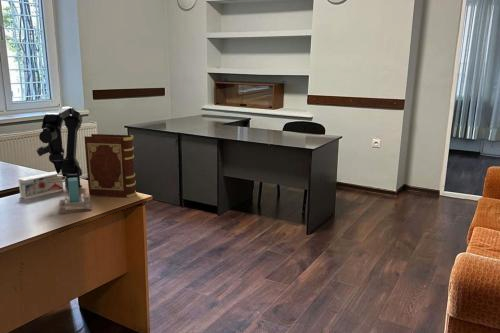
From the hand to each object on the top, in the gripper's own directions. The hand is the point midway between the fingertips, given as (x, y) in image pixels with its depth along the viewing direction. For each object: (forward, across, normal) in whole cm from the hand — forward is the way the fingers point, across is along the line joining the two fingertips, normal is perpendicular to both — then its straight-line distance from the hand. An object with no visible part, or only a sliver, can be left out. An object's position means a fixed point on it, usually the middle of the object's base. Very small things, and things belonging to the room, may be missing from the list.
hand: (58, 171), depth 202 cm
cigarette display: (+13, -9, -8) cm, 18 cm away
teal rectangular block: (+12, +18, +6) cm, 23 cm away
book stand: (+13, +18, +6) cm, 23 cm away
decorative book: (+13, +5, +24) cm, 28 cm away
